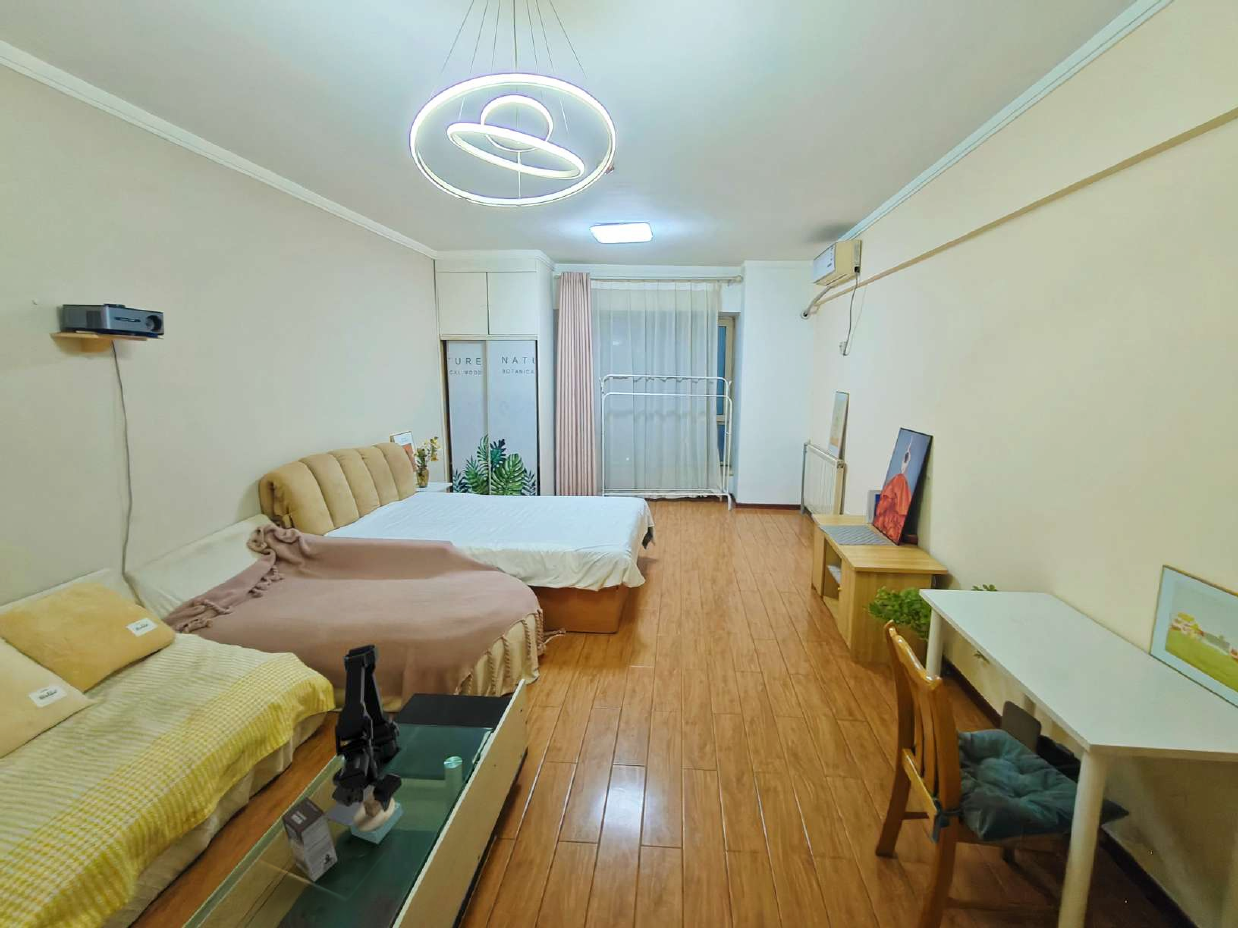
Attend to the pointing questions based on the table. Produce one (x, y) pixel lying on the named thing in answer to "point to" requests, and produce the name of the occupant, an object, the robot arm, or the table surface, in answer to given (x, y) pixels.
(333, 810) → the mat
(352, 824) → the open box
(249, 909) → the table surface
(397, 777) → the robot arm
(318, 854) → the coffee box
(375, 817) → the lid
